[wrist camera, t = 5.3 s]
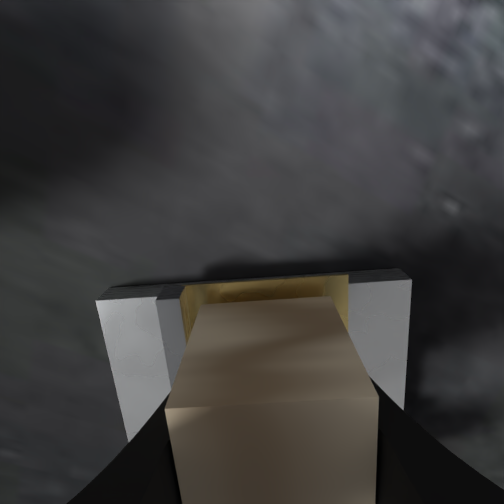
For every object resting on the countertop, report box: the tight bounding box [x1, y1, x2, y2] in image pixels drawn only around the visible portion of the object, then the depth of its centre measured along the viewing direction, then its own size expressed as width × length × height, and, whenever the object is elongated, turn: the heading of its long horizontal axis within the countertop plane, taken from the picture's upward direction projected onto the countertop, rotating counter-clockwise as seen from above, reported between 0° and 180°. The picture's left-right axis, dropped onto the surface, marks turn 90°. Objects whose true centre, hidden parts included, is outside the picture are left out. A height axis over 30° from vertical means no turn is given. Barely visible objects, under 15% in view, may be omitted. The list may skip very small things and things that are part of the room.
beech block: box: [165, 296, 379, 504], centre depth 10 cm, size 4×4×5 cm
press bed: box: [96, 268, 412, 442], centre depth 14 cm, size 12×10×2 cm
